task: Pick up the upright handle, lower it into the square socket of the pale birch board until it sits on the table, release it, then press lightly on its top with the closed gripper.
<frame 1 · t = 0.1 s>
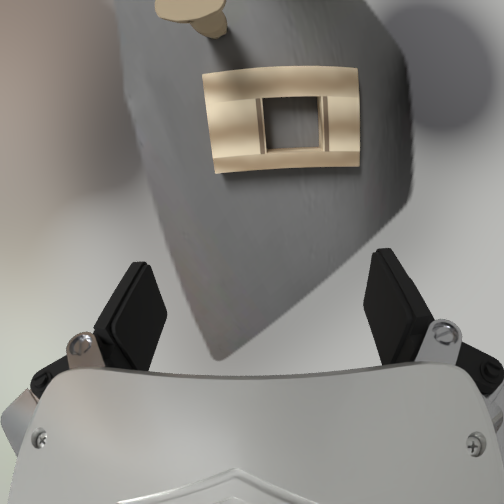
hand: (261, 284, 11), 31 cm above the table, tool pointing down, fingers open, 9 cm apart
board: (283, 115, 35), on the table
handle: (216, 30, 29), on the table
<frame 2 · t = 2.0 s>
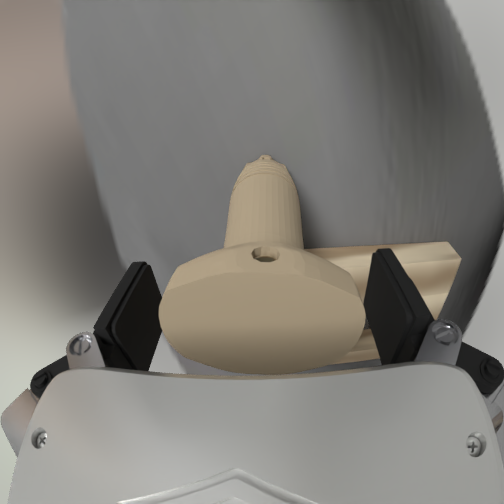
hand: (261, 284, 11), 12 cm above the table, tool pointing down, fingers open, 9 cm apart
board: (350, 302, 28), on the table
handle: (265, 173, 21), on the table
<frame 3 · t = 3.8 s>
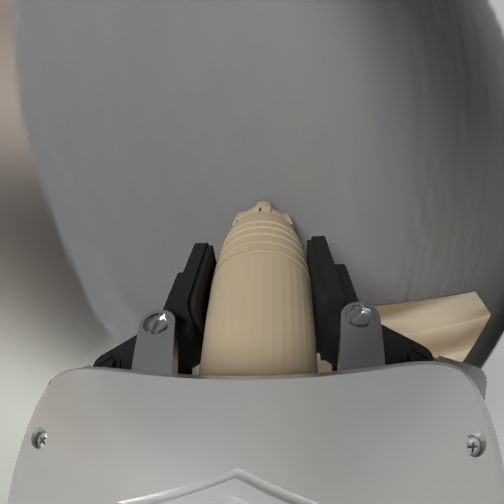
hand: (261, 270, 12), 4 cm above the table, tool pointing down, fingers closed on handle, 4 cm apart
board: (361, 361, 23), on the table
handle: (263, 223, 16), on the table, touching gripper
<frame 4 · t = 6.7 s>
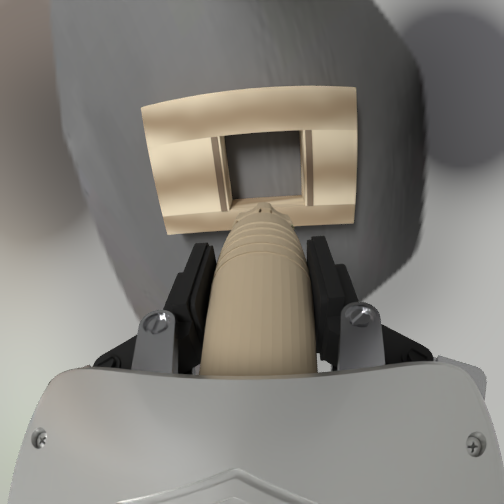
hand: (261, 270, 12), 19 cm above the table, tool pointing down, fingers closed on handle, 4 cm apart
board: (253, 155, 28), on the table
handle: (263, 224, 16), point 14 cm above the table, touching gripper
when the fingers open (6 cm above the table, at t = 9.7 s): handle drops 1 cm, resting in board.
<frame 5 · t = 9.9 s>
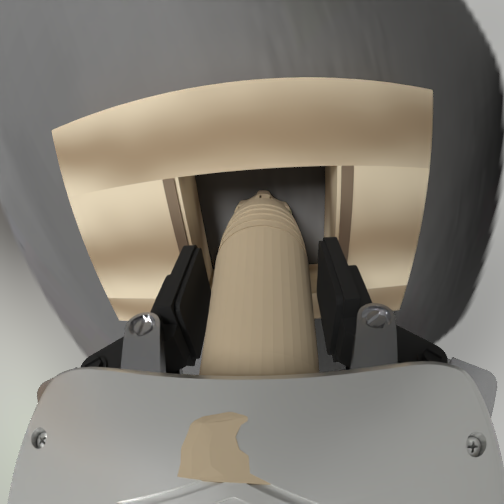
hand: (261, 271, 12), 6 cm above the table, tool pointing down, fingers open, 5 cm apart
board: (245, 201, 17), on the table
handle: (262, 212, 17), resting in board
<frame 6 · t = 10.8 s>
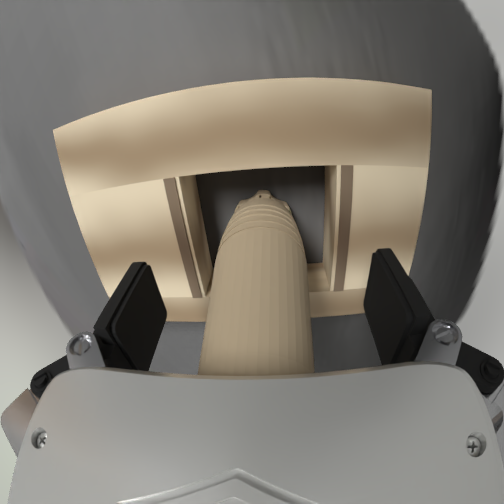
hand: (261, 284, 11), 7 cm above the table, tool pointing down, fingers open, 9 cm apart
board: (245, 201, 17), on the table
handle: (263, 211, 17), resting in board
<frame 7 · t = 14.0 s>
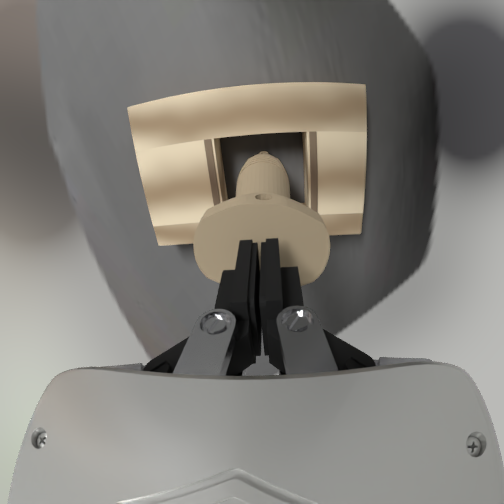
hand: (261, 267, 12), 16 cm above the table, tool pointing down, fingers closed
board: (252, 158, 25), on the table
handle: (263, 165, 26), resting in board
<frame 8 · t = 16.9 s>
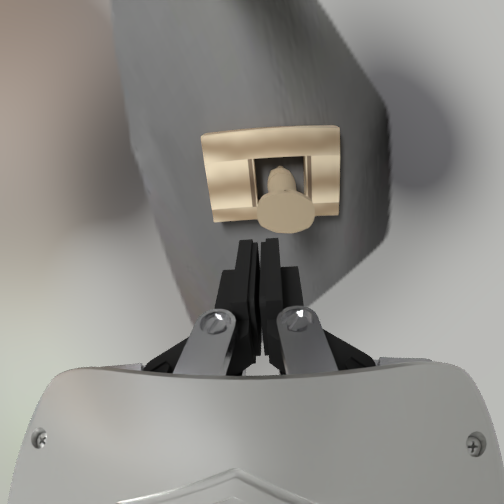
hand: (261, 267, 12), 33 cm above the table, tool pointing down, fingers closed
board: (273, 170, 43), on the table
handle: (279, 174, 43), resting in board
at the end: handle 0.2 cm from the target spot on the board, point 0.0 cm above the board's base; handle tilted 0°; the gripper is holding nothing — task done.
